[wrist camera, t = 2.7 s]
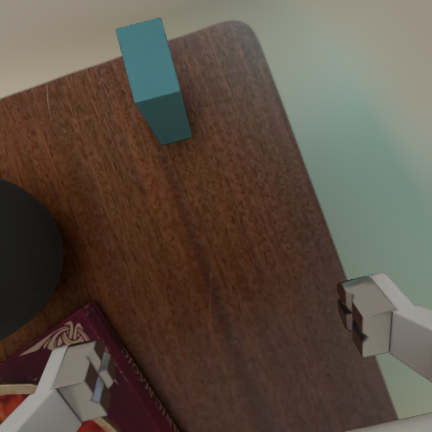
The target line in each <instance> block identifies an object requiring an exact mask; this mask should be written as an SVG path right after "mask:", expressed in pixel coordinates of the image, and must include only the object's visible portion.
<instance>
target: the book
mask: <svg viewBox="0 0 432 432" xmlns="http://www.w3.org/2000/svg"><path fill="white" fill-rule="evenodd" d="M94 339H102V341H103V342H104V344H105V349H104V351H106V352H108V353H110V354H111V356H112V358H113V360H114V363H115V379H114V383H113V384H112V386H111V387H110V388H109V389H108V391H109V392H110V394H111V399H110V404H109V409H108V414H107V416H104V417H100V418H96V419H92V420H88V421H85V422H81V423H82V424H81V426H80V427H79V429H78V431H77V432H180V431H179V430H178V428H177V427H176V425H175V424H174V422H173V421H172V419H171V417H170V416H169V414H168V413H167V411H166V410H165V408H164V407H163V405H162V404H161V402H160V401H159V399H158V398H157V396H156V395H155V393H154V391H153V390H152V388H151V387H150V385H149V384H148V382H147V381H146V379H145V378H144V376H143V375H142V373H141V372H140V370H139V369H138V367H137V365H136V364H135V362H134V361H133V359H132V358H131V356H130V355H129V353H128V352H127V350H126V349H125V347H124V346H123V344H122V343H121V341H120V339H119V338H118V336H117V335H116V333H115V332H114V330H113V329H112V327H111V326H110V324H109V323H108V321H107V320H106V318H105V317H104V315H103V313H102V312H101V310H100V309H99V307H98V306H97V304H96V303H95V301H92V302H90V303H89V304H87V305H85V306H84V307H82V308H81V309H79V310H78V311H76V312H75V313H73V314H72V315H70V316H69V317H67V318H66V319H65V320H63V321H62V322H60V323H59V324H57V325H56V326H54V327H53V328H51V329H50V330H48V331H47V332H45V333H44V334H43V335H41V336H40V337H38V338H37V339H35V340H34V341H32V342H31V343H29V344H28V345H26V346H25V347H23V348H22V349H21V350H19V351H18V352H16V353H15V354H13V355H12V356H10V357H9V358H7V359H6V360H4V361H3V362H1V363H0V425H1V424H2V423H3V422H4V421H5V420H6V419H7V418H8V417H9V415H10V414H11V413H12V412H13V411H14V410H15V409H16V408H17V407H18V406H19V405H20V404H21V403H22V402H23V401H24V400H25V399H26V398H27V397H28V396H29V395H31V394H34V393H35V391H36V388H37V386H38V384H39V381H40V379H41V376H42V374H43V372H44V369H45V367H46V365H47V362H48V360H49V358H50V355H51V353H52V351H53V350H54V349H55V348H56V347H61V346H66V345H70V344H75V343H79V342H84V341H89V340H94Z"/></svg>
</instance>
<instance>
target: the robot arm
mask: <svg viewBox="0 0 432 432" xmlns="http://www.w3.org/2000/svg"><path fill="white" fill-rule="evenodd" d="M337 293H338V294H339V296H340V298H339V300H338V301H337V303H338V311H339V314H340V318H341V320H342V322H343V324H344V326H345V328H346V329H347V330H348V331H350V332H352V336H353V342H354V344H355V345H356V347H357V349H358V350H359V352H360V354H361V356H362V357H363V358H364V357H369V356H374V355H379V354H384V353H389V352H390V354H391V355H392V356H394V357H395V358H397V359H398V360H400V361H401V362H403V363H404V364H405V365H407V366H408V367H410V368H411V369H413V370H414V371H416V372H417V373H419V374H420V375H422V376H423V377H425V378H426V379H427V380H429V381H430V382H432V310H430V309H427V308H425V307H423V306H420V305H418V306H414V304H413V303H412V302H411V301H410V300H409V299H408V298H407V297H406V296H405V294H404V293H403V292H402V291H401V290H400V289H399V288H398V287H397V285H396V284H395V283H394V282H393V281H392V280H391V279H390V278H389V277H388V275H387V274H386V273H384V272H380V273H376V274H371V275H368V276H363V277H359V278H355V279H351V280H347V281H343V282H339V283H338V284H337ZM104 349H105V344H104V342H103V341H102V339H94V340H89V341H84V342H79V343H75V344H70V345H66V346H61V347H56V348H55V349H54V350H53V351H52V353H51V355H50V358H49V360H48V362H47V365H46V367H45V369H44V372H43V374H42V376H41V379H40V381H39V384H38V386H37V388H36V391H35V393H34V394H31V395H29V396H28V397H27V398H26V399H25V400H24V401H23V402H22V403H21V404H20V405H19V406H18V407H17V408H16V409H15V410H14V411H13V412H12V413H11V414H10V415H9V417H8V418H7V419H6V420H5V421H4V422H3V423H2V424H1V425H0V432H77V431H78V429H79V427H80V426H81V424H82V423H81V422H85V421H88V420H92V419H96V418H100V417H104V416H107V414H108V409H109V404H110V399H111V394H110V392H109V391H108V389H109V388H110V387H111V386H112V384H113V383H114V379H115V363H114V360H113V358H112V356H111V354H110V353H108V352H106V351H104ZM346 432H432V412H431V413H427V414H422V415H418V416H413V417H409V418H404V419H400V420H395V421H391V422H386V423H382V424H377V425H373V426H368V427H364V428H359V429H355V430H350V431H346Z"/></svg>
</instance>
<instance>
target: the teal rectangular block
mask: <svg viewBox="0 0 432 432" xmlns="http://www.w3.org/2000/svg"><path fill="white" fill-rule="evenodd" d="M116 34H117V37H118V41H119V45H120V49H121V53H122V57H123V60H124V64H125V68H126V72H127V76H128V79H129V83H130V87H131V91H132V95H133V98H134V102H135V104H136V105H137V107H138V109H139V110H140V112H141V113H142V115H143V117H144V118H145V120H146V121H147V123H148V125H149V126H150V128H151V129H152V131H153V133H154V134H155V136H156V137H157V139H158V141H159V142H160V144H161V145H165V144H168V143H172V142H176V141H180V140H183V139H187V138H191V137H192V134H191V130H190V126H189V122H188V118H187V114H186V110H185V106H184V102H183V98H182V94H181V90H180V86H179V83H178V79H177V75H176V71H175V68H174V64H173V60H172V57H171V53H170V49H169V46H168V42H167V38H166V34H165V31H164V27H163V23H162V20H161V18H156V19H152V20H148V21H144V22H141V23H137V24H133V25H129V26H125V27H121V28H118V29H116Z"/></svg>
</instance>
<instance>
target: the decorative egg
mask: <svg viewBox="0 0 432 432" xmlns="http://www.w3.org/2000/svg"><path fill="white" fill-rule="evenodd" d="M63 259H64V251H63V242H62V238H61V234H60V231H59V229H58V227H57V224H56V223H55V221H54V219H53V217H52V216H51V215H50V213H49V212H48V210H47V209H46V208H45V207H44V206H43V205H42V204H41V203H40V202H39V201H38V200H37V199H36V198H35V197H33V196H32V195H31V194H29V193H28V192H27V191H25V190H24V189H22V188H20V187H18V186H17V185H15V184H13V183H11V182H8V181H6V180H4V179H1V178H0V340H2V339H4V338H6V337H8V336H9V335H11V334H13V333H14V332H16V331H17V330H18V329H20V328H21V327H23V326H24V325H25V324H26V323H28V322H29V321H30V320H31V319H32V318H33V317H34V316H35V315H36V314H37V313H38V312H39V311H40V310H41V309H42V308H43V307H44V305H45V304H46V303H47V301H48V300H49V299H50V297H51V295H52V294H53V292H54V290H55V288H56V286H57V284H58V281H59V278H60V275H61V272H62V267H63Z"/></svg>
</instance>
